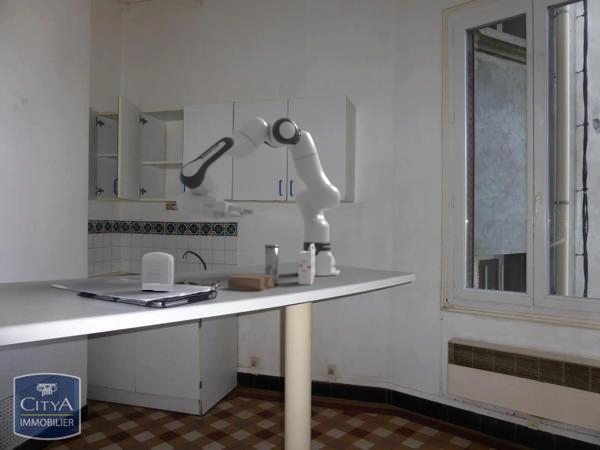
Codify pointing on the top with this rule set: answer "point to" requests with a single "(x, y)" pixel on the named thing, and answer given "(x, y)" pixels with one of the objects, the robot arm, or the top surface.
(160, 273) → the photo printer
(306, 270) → the ink cartridge box
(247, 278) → the walnut plinth
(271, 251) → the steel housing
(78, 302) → the top surface
